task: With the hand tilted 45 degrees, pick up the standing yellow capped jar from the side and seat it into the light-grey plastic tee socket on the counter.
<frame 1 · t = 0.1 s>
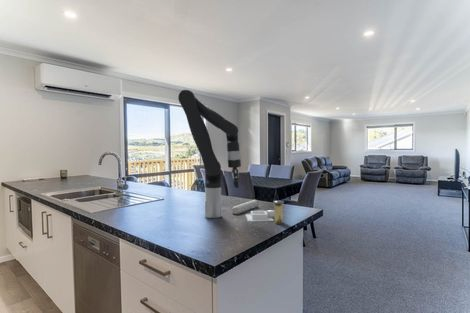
hand: (236, 186, 153), 17 cm above the worktop, tool pointing down, fingers open, 8 cm apart
tube: (245, 211, 167), on the worktop
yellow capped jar: (278, 222, 139), on the worktop
socket: (259, 218, 148), on the worktop
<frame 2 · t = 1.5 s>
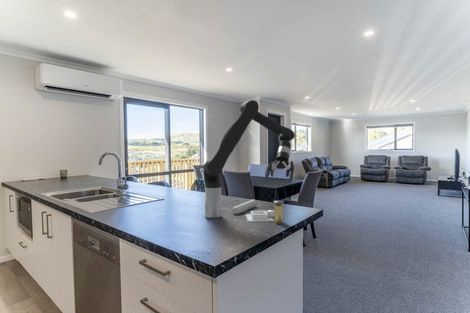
hand: (279, 175, 149), 24 cm above the worktop, tool tilted 45°, fingers open, 8 cm apart
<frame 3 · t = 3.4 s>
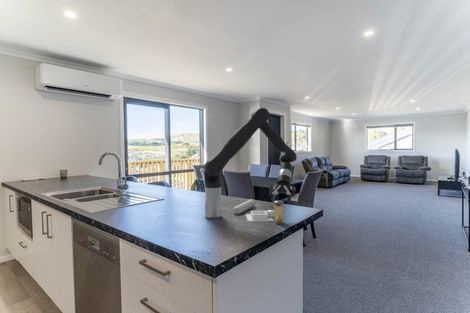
hand: (280, 201, 143), 10 cm above the worktop, tool tilted 45°, fingers open, 8 cm apart
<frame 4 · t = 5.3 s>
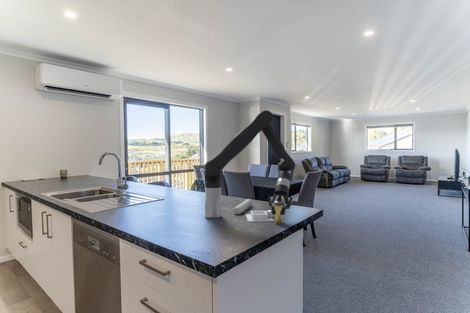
hand: (277, 214, 137), 5 cm above the worktop, tool tilted 45°, fingers closed on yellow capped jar, 4 cm apart
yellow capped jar: (278, 222, 139), on the worktop, touching gripper
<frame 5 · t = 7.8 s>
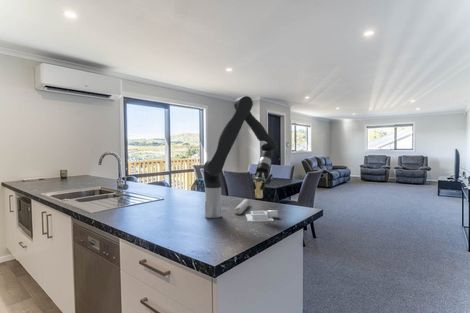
hand: (257, 189, 146), 17 cm above the worktop, tool tilted 45°, fingers closed on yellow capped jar, 4 cm apart
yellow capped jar: (258, 197, 148), point 12 cm above the worktop, touching gripper
when the fingers open (7 cm above the worktop, at t = 10.6 s): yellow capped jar drops 1 cm, resting on socket.
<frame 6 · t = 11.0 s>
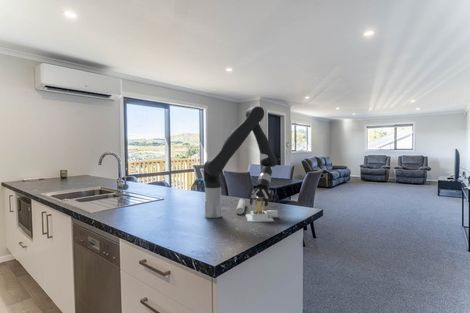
hand: (258, 205, 147), 8 cm above the worktop, tool tilted 45°, fingers open, 8 cm apart
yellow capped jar: (259, 216, 149), point 1 cm above the worktop, touching socket
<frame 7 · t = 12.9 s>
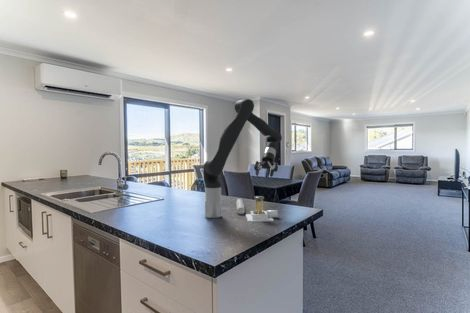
hand: (263, 175, 155), 23 cm above the worktop, tool tilted 45°, fingers open, 8 cm apart
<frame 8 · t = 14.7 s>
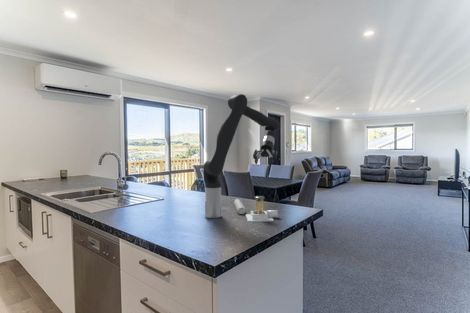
hand: (262, 163, 154), 31 cm above the worktop, tool tilted 45°, fingers open, 8 cm apart
at the end: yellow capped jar 0.2 cm off-centre on the socket, point 0.7 cm above the socket's base; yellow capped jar tilted 1°; the gripper is holding nothing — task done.
